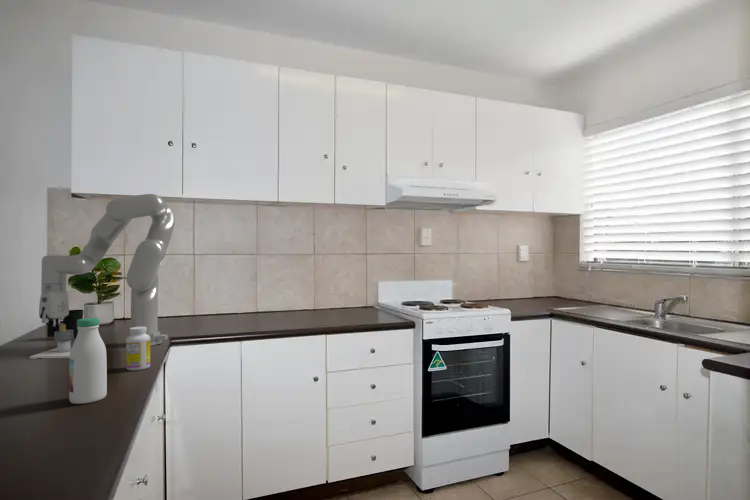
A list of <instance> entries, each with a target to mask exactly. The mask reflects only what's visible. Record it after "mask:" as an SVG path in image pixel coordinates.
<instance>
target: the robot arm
mask: <svg viewBox="0 0 750 500" xmlns="http://www.w3.org/2000/svg"><path fill="white" fill-rule="evenodd" d="M105 211H106V212H105V214H104V215H102V217H101V218H100V219H99V221H97V223H96V224H95V225H94V226H93V227H92V229H91V232H90V237H89V240H88V242H87V243H86V245H85V246H84V248H83V249H82V250H81V251H80V252H79V254H73V255H66V256H65V255H44V256H43V257H42V258H41V281H40V283H41V285H40V286H41V288H40V290H41V291H40V297H39V303H38V304H39V306H38V316H39V319H41V323H43V324H45V326H46V329H47V330H46V332H47V333H46V334H47V336H46V337H47V338H54V332H55V331H59V330H60V325H61V321H63V319H64V318H65V317H66V316H67V315H68V314H69V310H70V308H69V307H70V305H69V294H68V291H67V275H73V276H75V275H84V274H88V273H90V272H91V271H92V270H93V269H94V268H96V266H97V265H98V264H99V263H100V262H101V260H103V257H104V256H105V255H106V254H107V252H108V250H110V248H111V246H112V245H113V243H114V242H115V240H117V238H118V237H119V236H120V234H121V233H122V232H123V230H124V229H125V228H126V227H127V226H128V225H129V223H130V222H131V221H132V220H133V219H138V218H143V217H150V218H151V224H150V226H149V228H148V233H147V235H146V237H145V240H143V241H141V242H140V243H139V244H138V245H137V247H136V249H135V251H134V254H133V257H132V259H131V263H130V264H129V268H128V270H127V273H126V283H127V285H128V287H129V288H130V291H131V292H130V328H133V327H146V329H147V331H146V334H147V335H149V336H150V347H152V346H156V345H160V344H162V342H163V340H168V336H169V335H168V334H167V333H165V334H164V333H163V334H161V331H160V330H159V328H158V323H159V321H158V313H159V312H158V310H159V309H158V303H159V301H158V299H159V298H158V296H159V295H158V294H159V293H158V292H159V291H158V290H159V274H158V270H159V268H160V265H161V262H162V261H163V260H164V258H165V257H166V253H167V250H168V246H169V245H170V241H171V237H172V235H173V232H174V229H175V224H176V217H175V214H174V211H173V209H172V208H171V206H170V205H169V204H168V203H167V202H166V201H165V200H164V199H163V198H162V197H160V196H159V195H157V194H154V193H146V194H145V193H144V194H139V195H133V196H125V197H118V198H114V199H112V200H110V201H109V202H108V203H107V204H106V207H105Z"/></svg>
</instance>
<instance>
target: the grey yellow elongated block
mask: <svg viewBox="0 0 750 500" xmlns="http://www.w3.org/2000/svg"><path fill="white" fill-rule="evenodd" d="M53 338H54V341H56V342H57V341H62V340H70V339H71V340H74V339H73V330H66V324H63V323H62V324H60V325H59V331H55V332H54V337H53Z"/></svg>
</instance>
